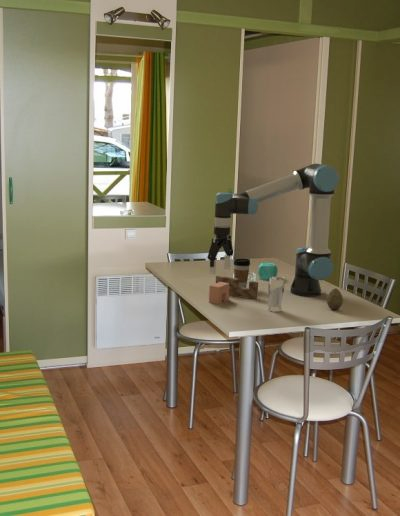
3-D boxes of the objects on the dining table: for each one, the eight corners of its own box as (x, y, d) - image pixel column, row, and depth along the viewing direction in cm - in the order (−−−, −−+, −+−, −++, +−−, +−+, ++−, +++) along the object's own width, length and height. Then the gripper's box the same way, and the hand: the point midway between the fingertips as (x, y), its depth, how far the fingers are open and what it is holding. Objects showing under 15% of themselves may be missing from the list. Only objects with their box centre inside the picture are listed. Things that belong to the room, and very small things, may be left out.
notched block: (219, 298, 329) (220, 281, 327) (228, 299, 326) (229, 283, 325) (208, 302, 320) (209, 285, 319) (218, 304, 318) (219, 287, 316)
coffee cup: (247, 290, 345) (249, 261, 342) (231, 289, 347) (232, 260, 344) (249, 286, 353) (251, 258, 350) (233, 285, 355) (235, 257, 352)
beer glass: (272, 307, 316) (274, 275, 313) (285, 310, 311) (287, 278, 308) (264, 310, 310) (266, 277, 307) (277, 313, 306) (279, 280, 303)
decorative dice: (270, 281, 368) (271, 266, 367) (257, 278, 373) (258, 264, 371) (277, 278, 375) (278, 264, 373) (264, 276, 379) (265, 262, 378)
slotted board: (257, 298, 331) (258, 282, 329) (255, 299, 329) (256, 283, 327) (217, 291, 342) (218, 275, 340) (215, 291, 340) (216, 276, 338)
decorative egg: (324, 307, 319) (325, 286, 317) (339, 307, 320) (341, 286, 318) (328, 311, 312) (330, 290, 310) (343, 311, 313) (345, 290, 311)
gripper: (228, 222, 329) (225, 266, 333) (201, 228, 308) (198, 274, 312) (242, 224, 325) (239, 268, 329) (215, 230, 304) (213, 277, 308)
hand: (219, 271), depth 321 cm, fingers open, 13 cm apart
